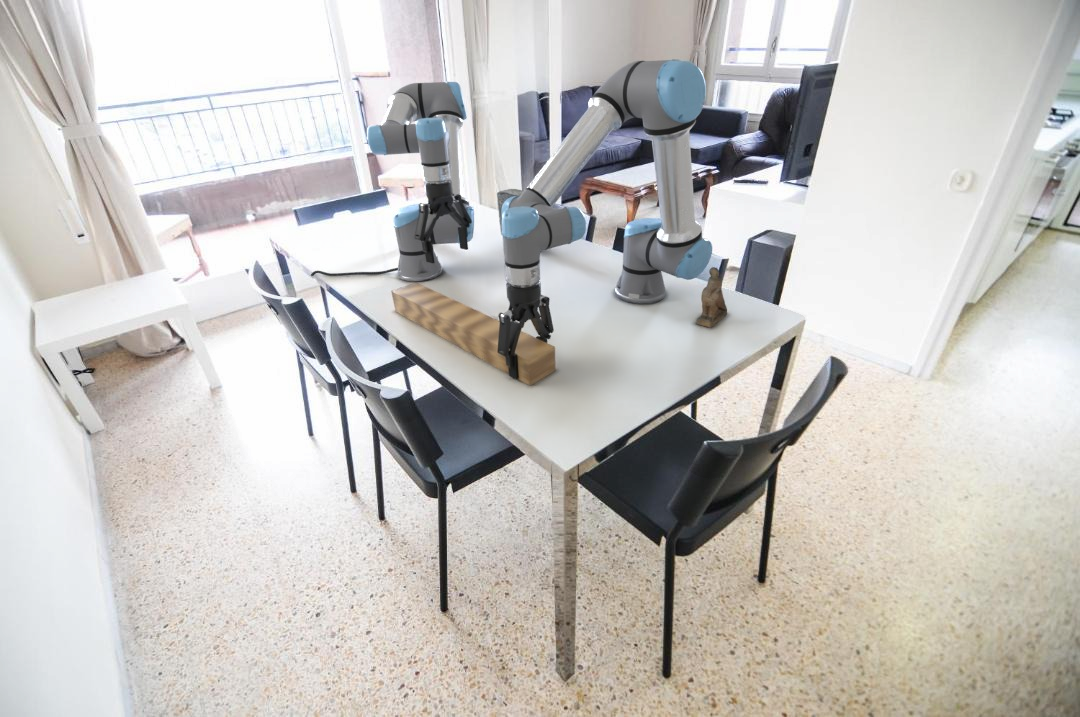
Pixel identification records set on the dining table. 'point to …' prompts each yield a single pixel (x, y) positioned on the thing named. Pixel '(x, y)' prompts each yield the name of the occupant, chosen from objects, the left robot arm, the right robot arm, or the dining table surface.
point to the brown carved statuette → (712, 301)
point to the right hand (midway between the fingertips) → (528, 368)
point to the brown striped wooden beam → (472, 331)
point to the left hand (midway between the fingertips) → (447, 255)
